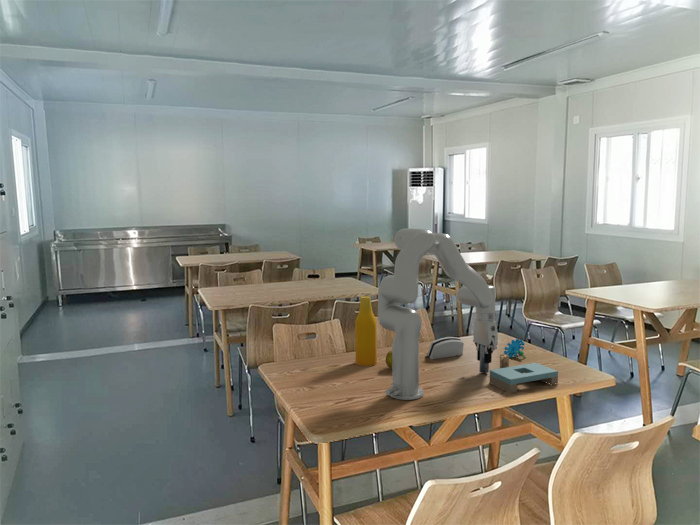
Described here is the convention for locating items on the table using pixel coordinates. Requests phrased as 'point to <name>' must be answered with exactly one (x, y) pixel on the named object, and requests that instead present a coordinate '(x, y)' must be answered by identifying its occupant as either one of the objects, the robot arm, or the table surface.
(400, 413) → the table surface
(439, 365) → the table surface
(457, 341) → the napkin holder
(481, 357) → the tall pin
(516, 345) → the gear
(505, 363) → the short pin
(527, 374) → the hole bridge
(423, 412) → the table surface
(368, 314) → the beer bottle
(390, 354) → the fruit
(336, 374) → the table surface
